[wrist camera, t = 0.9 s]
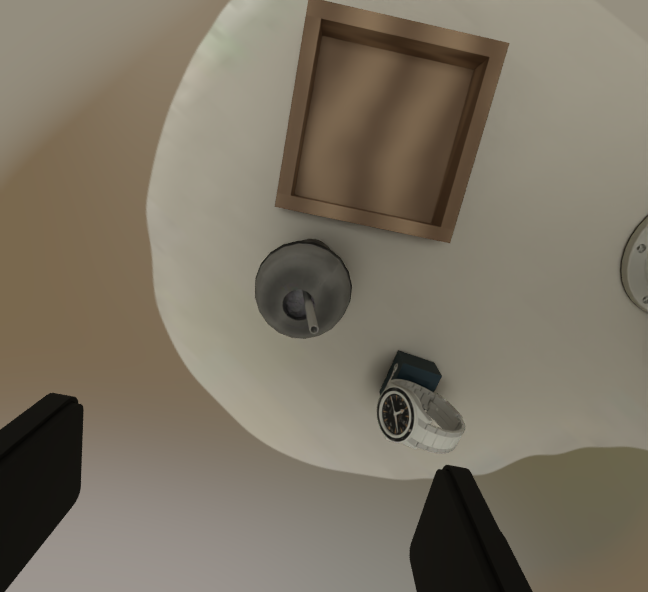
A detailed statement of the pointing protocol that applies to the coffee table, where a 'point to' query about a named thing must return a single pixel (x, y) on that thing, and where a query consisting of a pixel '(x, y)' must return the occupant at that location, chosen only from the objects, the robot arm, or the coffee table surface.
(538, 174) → the coffee table surface
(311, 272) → the beverage cup
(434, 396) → the watch
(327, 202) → the walnut tray
